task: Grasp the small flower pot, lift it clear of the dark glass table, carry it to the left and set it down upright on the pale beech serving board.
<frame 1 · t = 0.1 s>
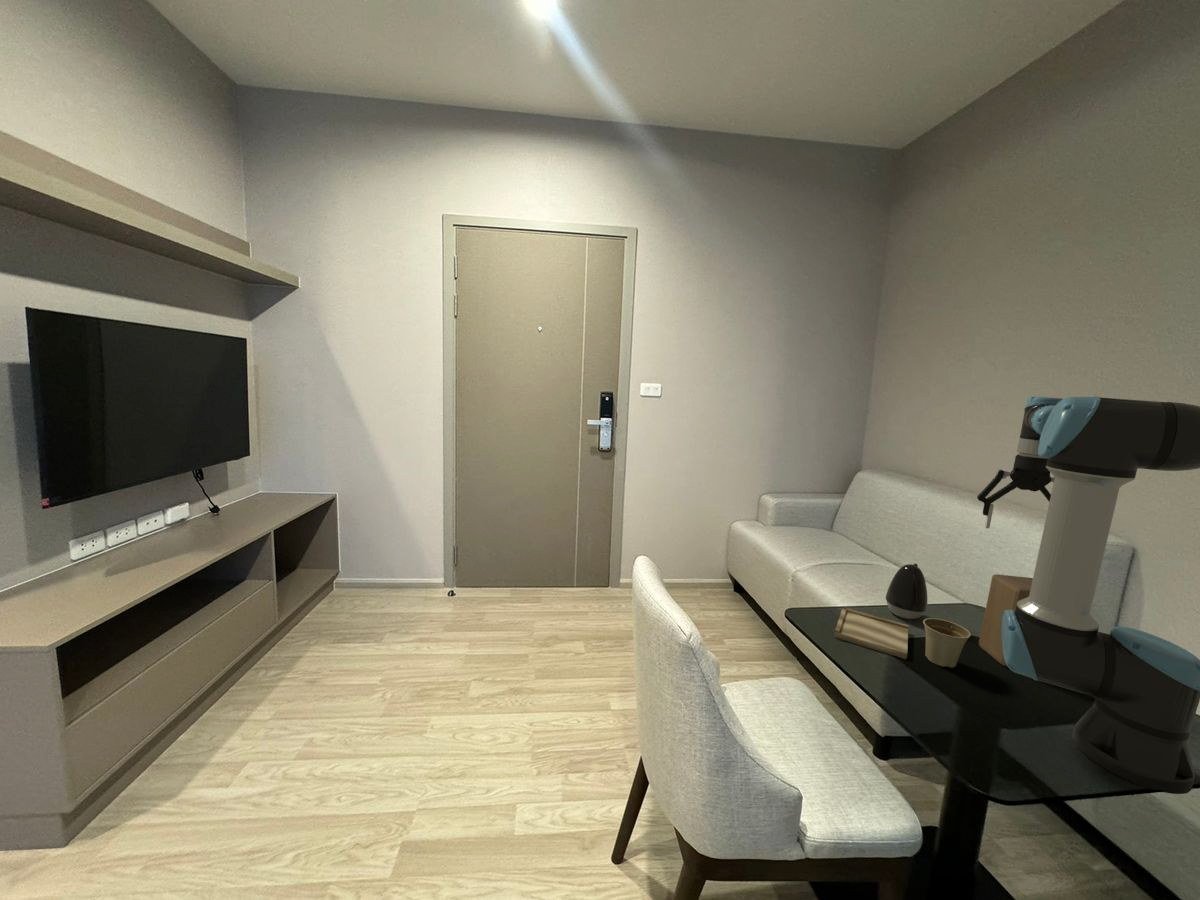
hand: (1018, 533, 135), 28 cm above the table, fingers open, 13 cm apart
flower pot: (940, 661, 121), on the table
wooden block: (1010, 659, 124), on the table
black egg-shaped piece: (903, 615, 144), on the table
board: (871, 634, 131), on the table
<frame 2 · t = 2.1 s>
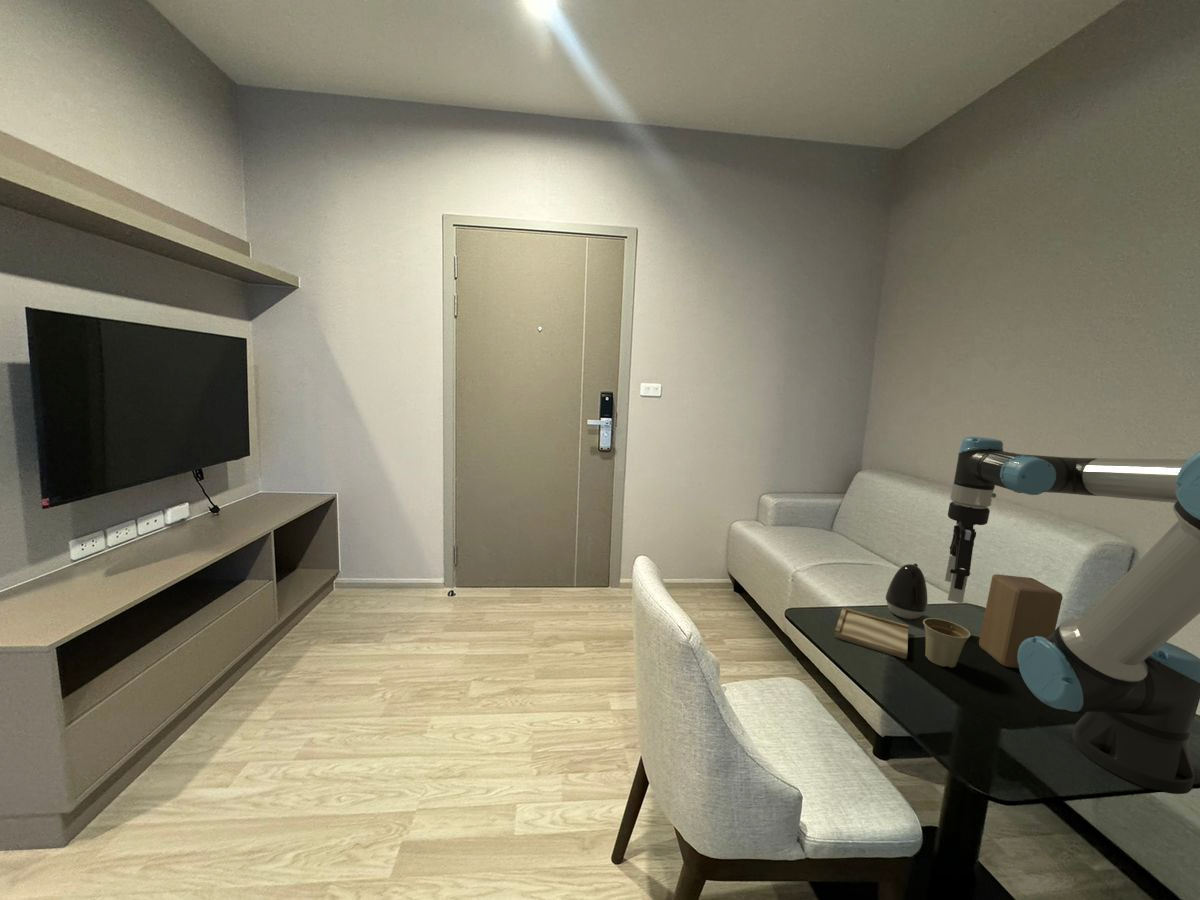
hand: (952, 591, 118), 18 cm above the table, fingers open, 13 cm apart
nothing on the table moved.
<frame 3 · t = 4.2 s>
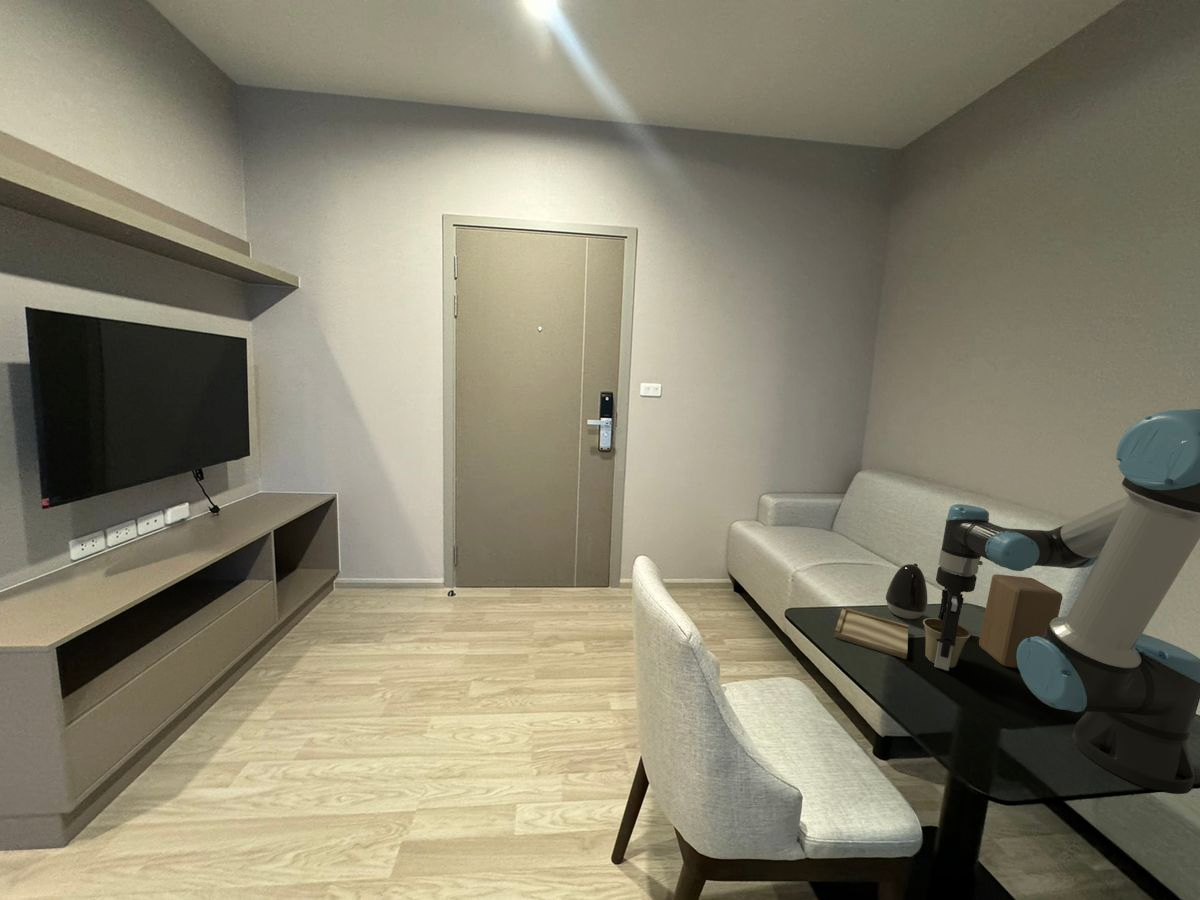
hand: (940, 659, 120), 0 cm above the table, fingers closed on flower pot, 8 cm apart
flower pot: (940, 661, 121), on the table, touching gripper
everything else where it was.
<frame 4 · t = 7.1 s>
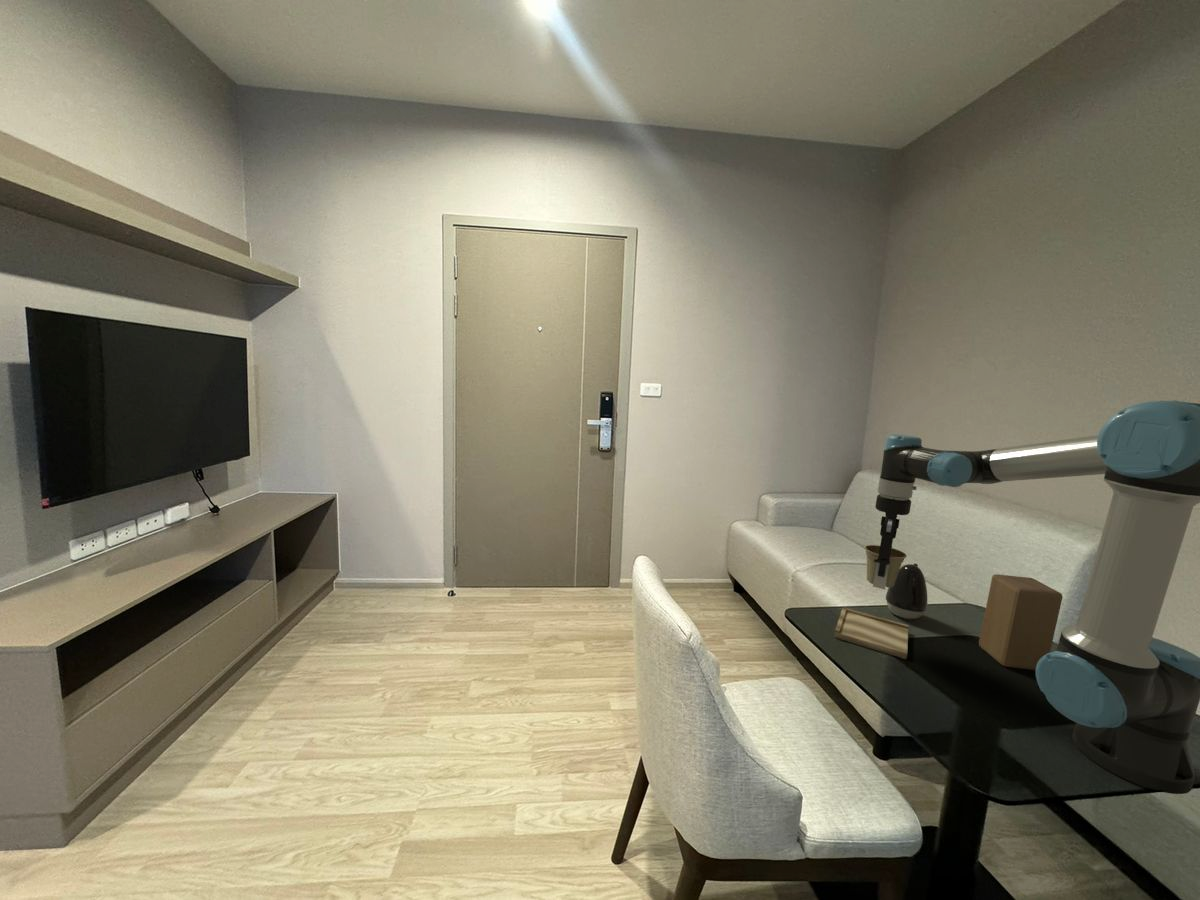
hand: (880, 581, 129), 15 cm above the table, fingers closed on flower pot, 8 cm apart
flower pot: (879, 583, 129), point 14 cm above the table, touching gripper
everything else where it was.
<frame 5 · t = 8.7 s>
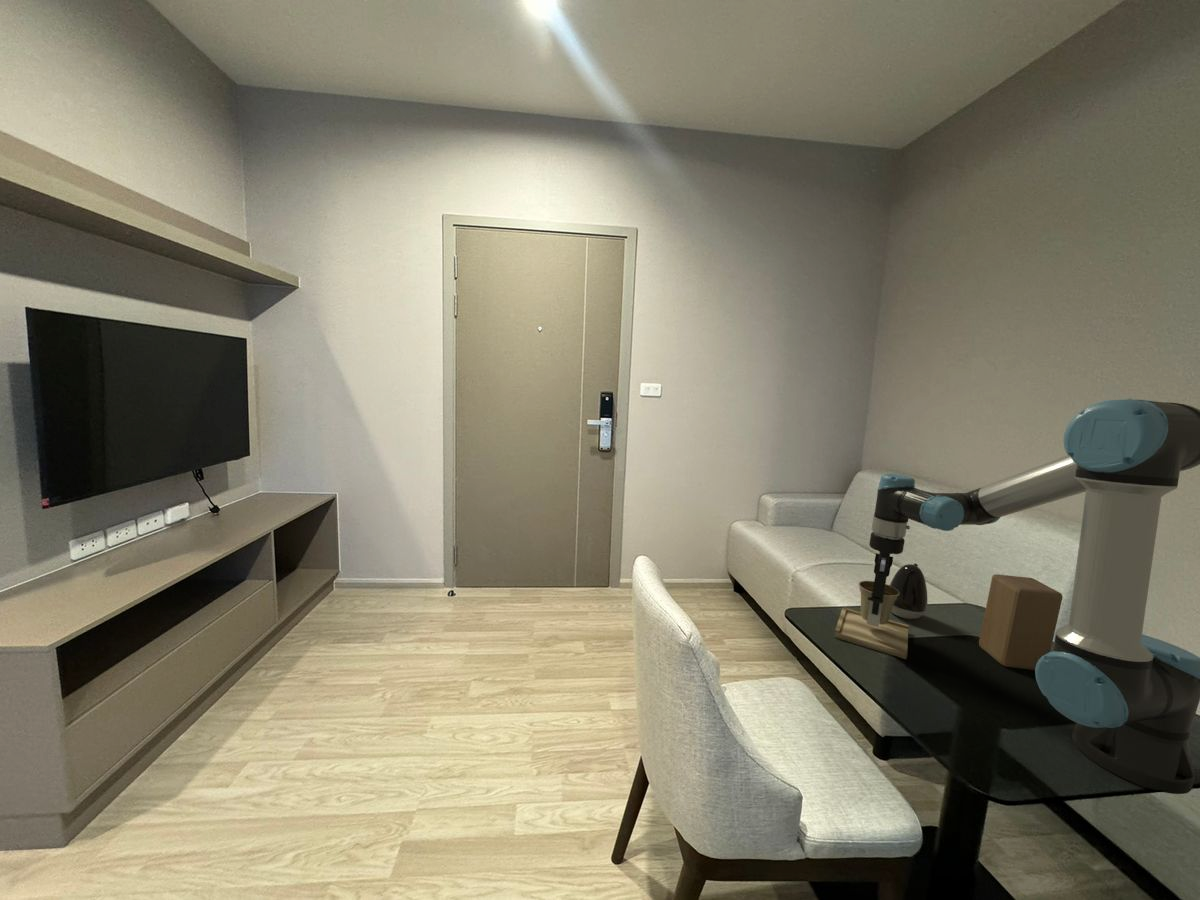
hand: (873, 618, 130), 5 cm above the table, fingers closed on flower pot, 8 cm apart
flower pot: (873, 619, 130), point 4 cm above the table, touching gripper
everything else where it was.
when the fingers open (3 cm above the table, at t = 10.0 s): flower pot drops 1 cm, resting on board.
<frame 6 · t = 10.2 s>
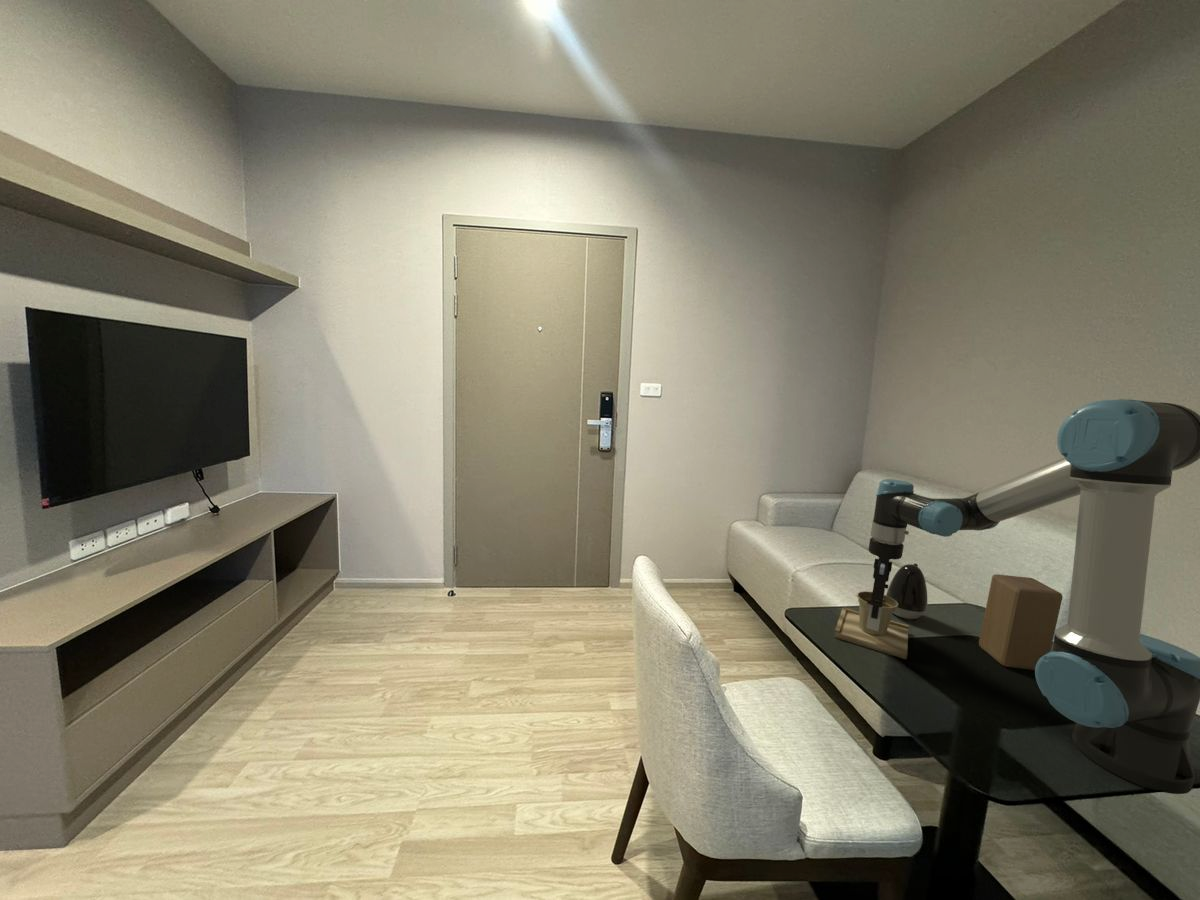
hand: (873, 619, 130), 4 cm above the table, fingers open, 12 cm apart
flower pot: (872, 630, 130), point 1 cm above the table, touching board
everything else where it was.
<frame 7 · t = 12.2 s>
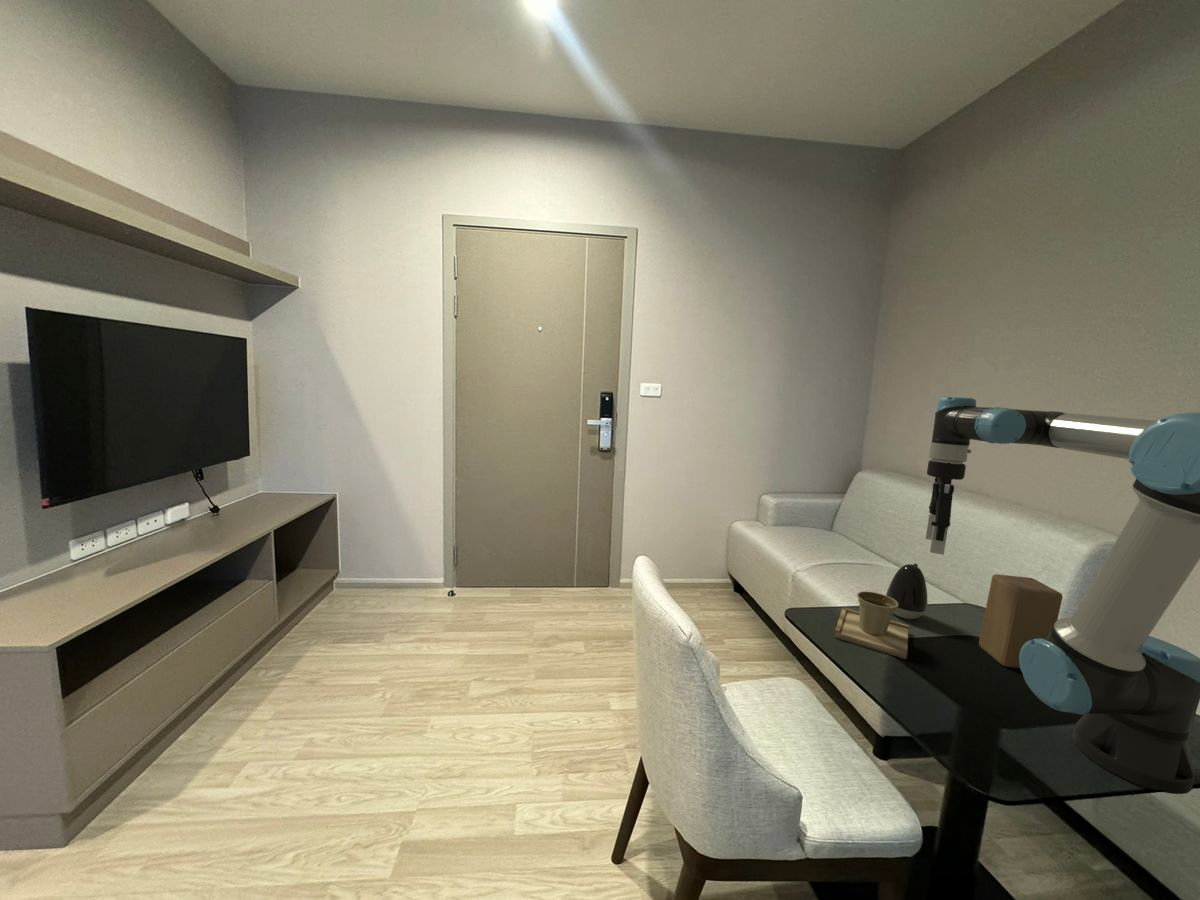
hand: (933, 546, 123), 26 cm above the table, fingers open, 13 cm apart
nothing on the table moved.
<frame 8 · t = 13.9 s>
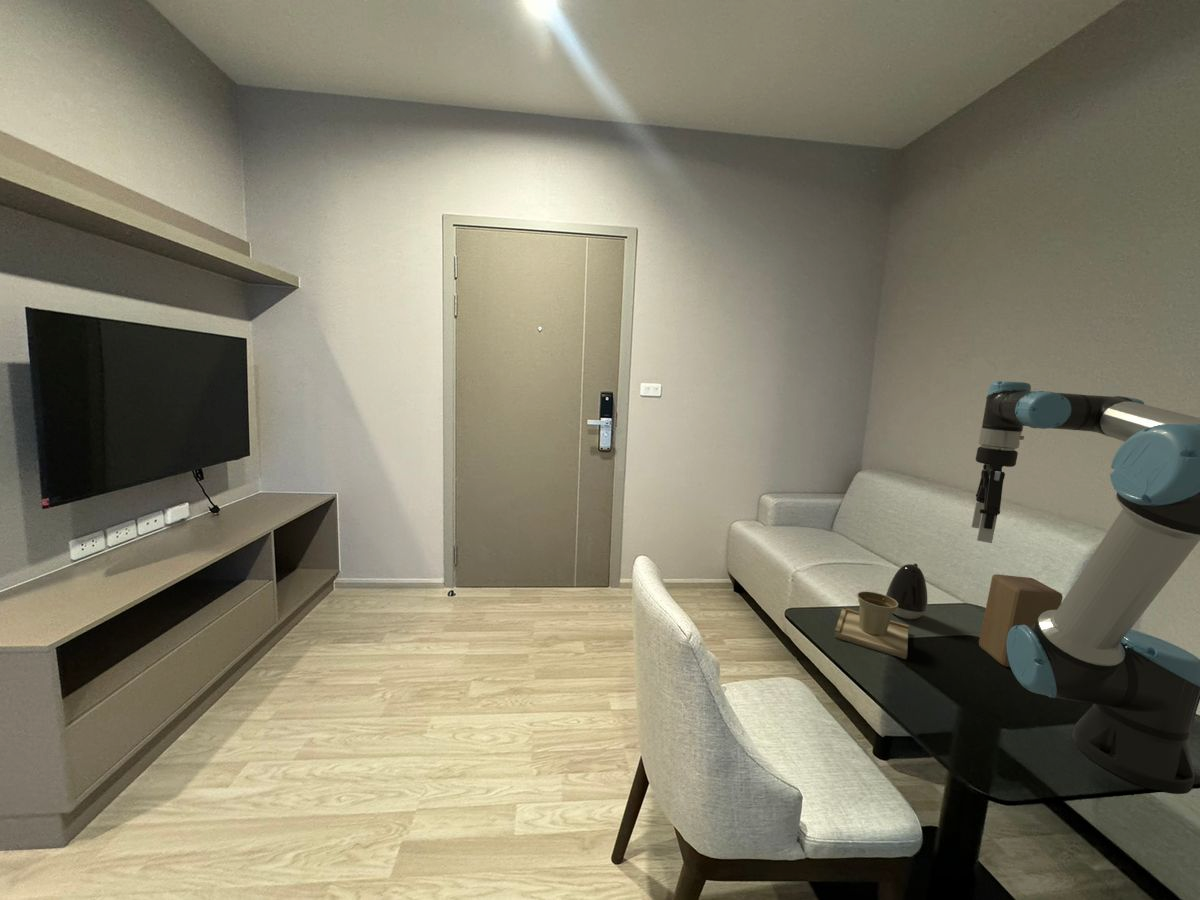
hand: (980, 534, 120), 31 cm above the table, fingers open, 13 cm apart
nothing on the table moved.
at the end: flower pot inside the target area on the board (0.3 cm from its centre), point 1.3 cm above the board's base; flower pot tilted 0°; the gripper is holding nothing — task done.
